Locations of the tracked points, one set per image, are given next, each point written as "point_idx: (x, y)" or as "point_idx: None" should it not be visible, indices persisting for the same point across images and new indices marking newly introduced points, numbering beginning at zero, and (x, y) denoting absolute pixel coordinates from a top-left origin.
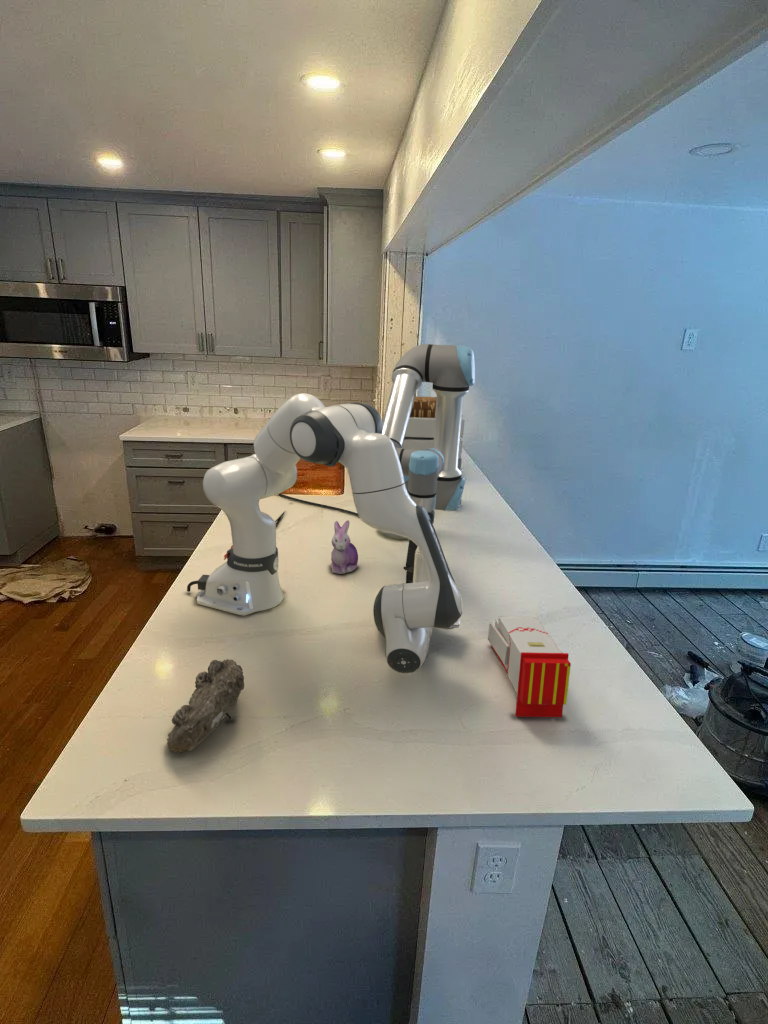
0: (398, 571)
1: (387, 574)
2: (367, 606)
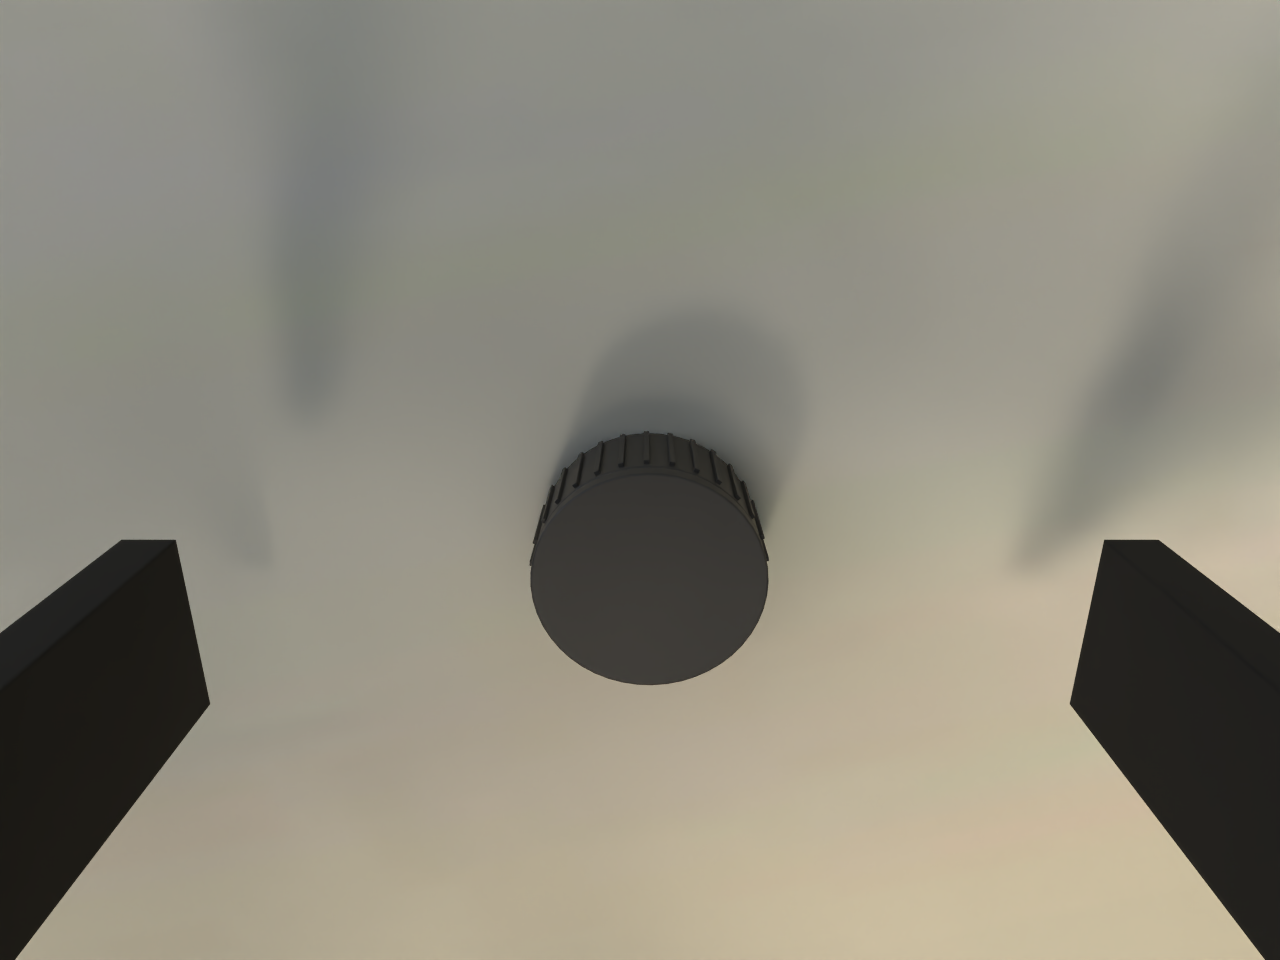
0: (156, 854)
1: (322, 946)
2: (1252, 950)
